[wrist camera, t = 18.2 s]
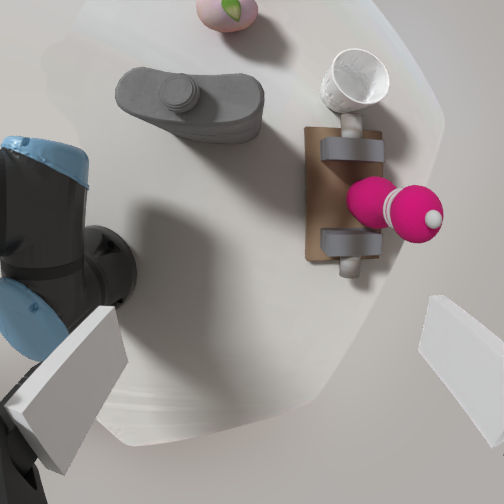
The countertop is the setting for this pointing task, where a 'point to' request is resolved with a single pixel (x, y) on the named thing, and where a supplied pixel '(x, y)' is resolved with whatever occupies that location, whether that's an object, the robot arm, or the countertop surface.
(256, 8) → the decorative fruit
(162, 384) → the countertop surface
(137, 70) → the flask
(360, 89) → the white cup
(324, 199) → the block
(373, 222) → the pepper mill
